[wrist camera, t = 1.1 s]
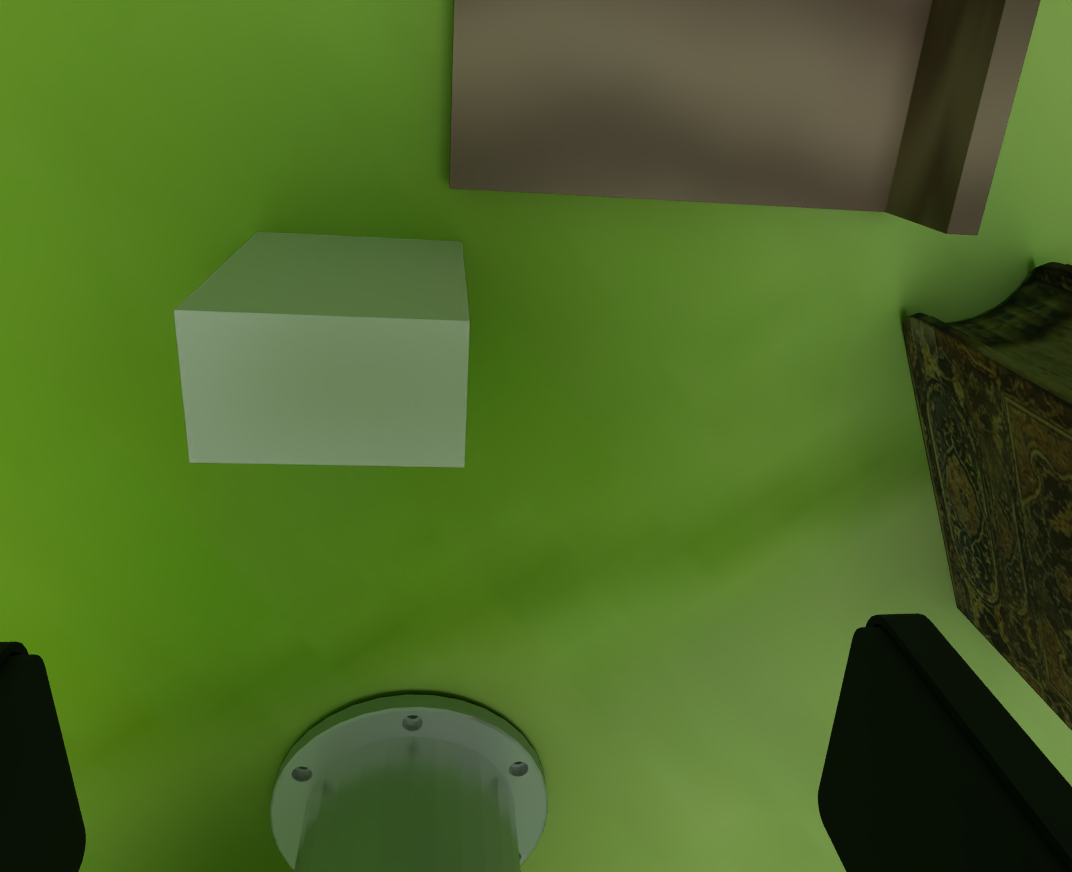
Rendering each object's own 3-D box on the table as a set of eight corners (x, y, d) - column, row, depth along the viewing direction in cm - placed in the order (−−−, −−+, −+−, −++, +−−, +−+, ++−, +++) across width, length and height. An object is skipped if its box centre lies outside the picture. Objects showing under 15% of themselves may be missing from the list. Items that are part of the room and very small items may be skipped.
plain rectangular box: (458, 349, 32) (464, 467, 23) (263, 343, 31) (189, 462, 22) (462, 241, 30) (469, 321, 21) (257, 231, 30) (173, 310, 20)
